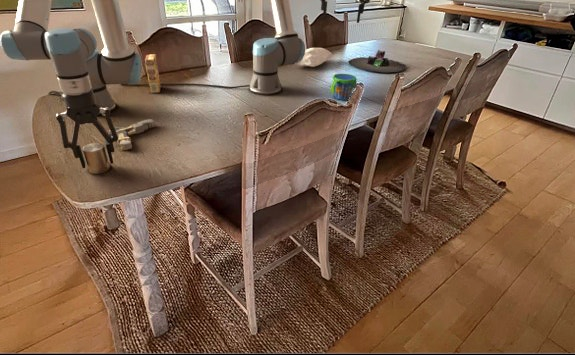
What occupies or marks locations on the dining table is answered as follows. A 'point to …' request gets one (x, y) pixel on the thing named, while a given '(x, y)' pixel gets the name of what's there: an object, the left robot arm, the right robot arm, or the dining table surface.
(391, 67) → the dark round tray
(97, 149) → the tin
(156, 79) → the candy box
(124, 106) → the dining table surface
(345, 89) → the snack cup
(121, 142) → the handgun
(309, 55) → the cream pillow
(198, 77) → the dining table surface
